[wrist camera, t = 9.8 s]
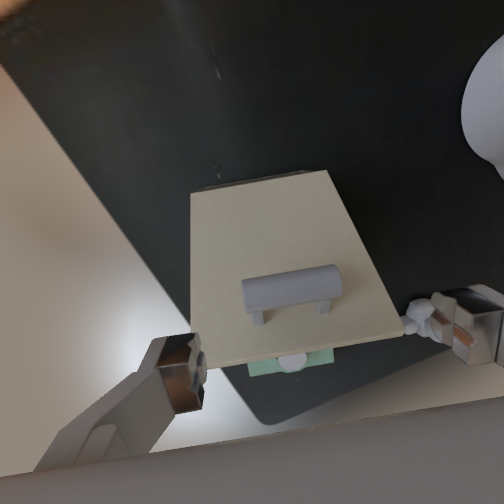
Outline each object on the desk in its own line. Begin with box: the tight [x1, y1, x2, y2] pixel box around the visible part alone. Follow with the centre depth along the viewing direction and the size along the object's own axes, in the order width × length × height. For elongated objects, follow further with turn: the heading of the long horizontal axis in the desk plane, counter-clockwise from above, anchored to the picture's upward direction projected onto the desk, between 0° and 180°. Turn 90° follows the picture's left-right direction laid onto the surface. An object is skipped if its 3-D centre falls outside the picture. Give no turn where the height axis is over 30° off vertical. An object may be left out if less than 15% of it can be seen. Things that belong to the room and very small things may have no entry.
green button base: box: [247, 348, 334, 377], centre depth 38 cm, size 12×9×5 cm
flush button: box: [278, 353, 307, 371], centre depth 35 cm, size 4×4×2 cm
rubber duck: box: [400, 298, 442, 343], centre depth 37 cm, size 5×7×8 cm
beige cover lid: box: [191, 170, 406, 370], centre depth 19 cm, size 15×13×5 cm
